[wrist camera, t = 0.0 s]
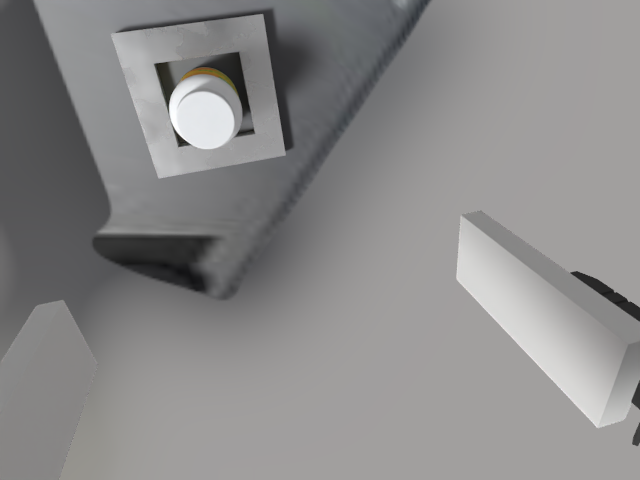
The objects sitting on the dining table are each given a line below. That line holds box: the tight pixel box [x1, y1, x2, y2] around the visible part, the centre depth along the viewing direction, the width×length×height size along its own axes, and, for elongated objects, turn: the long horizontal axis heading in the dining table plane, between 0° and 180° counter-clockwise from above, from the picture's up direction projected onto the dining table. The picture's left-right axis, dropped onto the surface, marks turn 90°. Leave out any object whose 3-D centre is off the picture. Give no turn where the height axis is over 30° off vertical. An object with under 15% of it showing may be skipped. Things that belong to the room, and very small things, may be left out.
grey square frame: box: [111, 14, 286, 178], centre depth 36 cm, size 12×12×1 cm
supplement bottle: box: [169, 67, 242, 149], centre depth 32 cm, size 5×5×10 cm
